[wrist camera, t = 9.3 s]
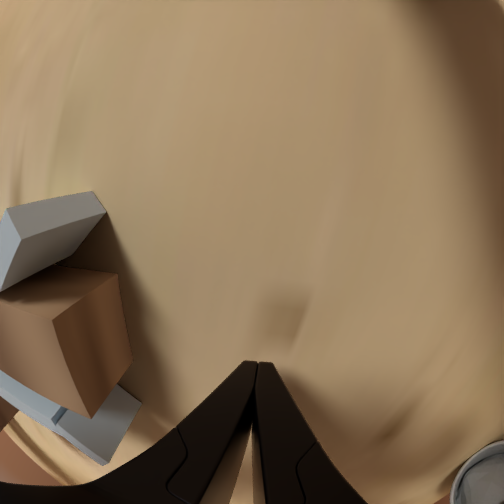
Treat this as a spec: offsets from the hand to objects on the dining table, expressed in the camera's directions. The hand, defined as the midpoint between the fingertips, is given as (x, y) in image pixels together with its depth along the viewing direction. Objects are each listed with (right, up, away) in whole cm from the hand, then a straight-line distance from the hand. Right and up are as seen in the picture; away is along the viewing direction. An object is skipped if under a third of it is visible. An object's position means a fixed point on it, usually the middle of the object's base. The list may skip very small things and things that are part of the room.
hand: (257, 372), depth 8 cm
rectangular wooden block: (-10, +1, +3) cm, 11 cm away
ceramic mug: (+22, -15, +4) cm, 27 cm away
